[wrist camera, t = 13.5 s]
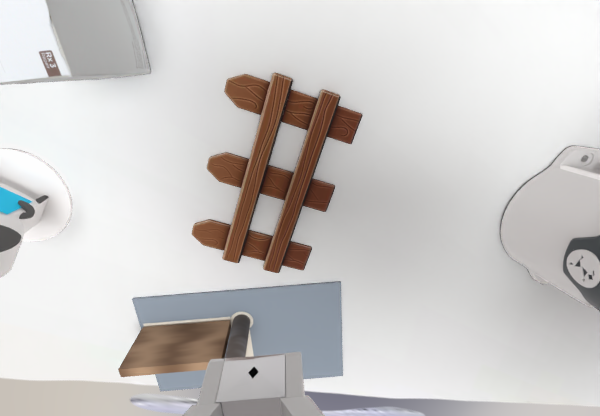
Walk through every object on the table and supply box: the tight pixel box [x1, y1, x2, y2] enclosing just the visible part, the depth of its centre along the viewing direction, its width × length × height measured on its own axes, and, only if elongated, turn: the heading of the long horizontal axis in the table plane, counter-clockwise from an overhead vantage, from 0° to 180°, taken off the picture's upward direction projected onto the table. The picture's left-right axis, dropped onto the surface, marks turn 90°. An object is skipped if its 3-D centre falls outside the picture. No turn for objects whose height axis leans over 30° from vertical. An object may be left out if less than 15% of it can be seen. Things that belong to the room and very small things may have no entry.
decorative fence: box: [192, 73, 362, 273], centre depth 38 cm, size 23×2×15 cm
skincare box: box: [0, 0, 151, 85], centre depth 26 cm, size 8×6×15 cm
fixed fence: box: [118, 314, 250, 377], centre depth 42 cm, size 15×2×8 cm, turn 94°
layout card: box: [132, 282, 343, 391], centre depth 47 cm, size 28×17×1 cm, turn 94°
